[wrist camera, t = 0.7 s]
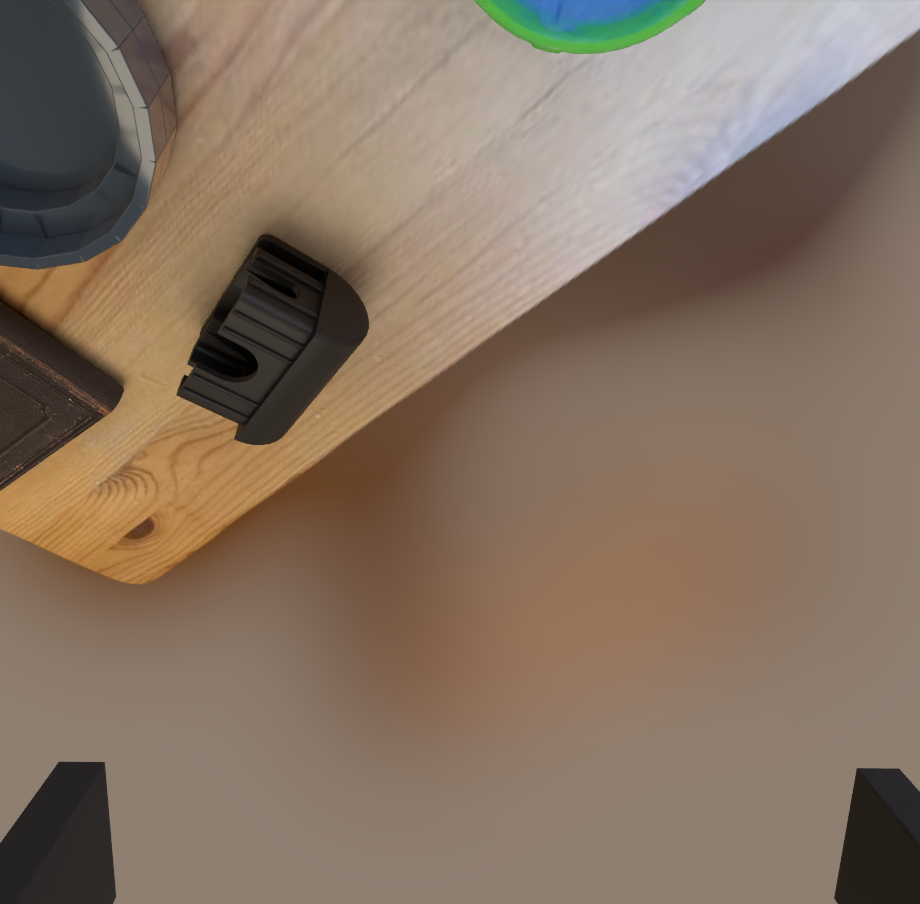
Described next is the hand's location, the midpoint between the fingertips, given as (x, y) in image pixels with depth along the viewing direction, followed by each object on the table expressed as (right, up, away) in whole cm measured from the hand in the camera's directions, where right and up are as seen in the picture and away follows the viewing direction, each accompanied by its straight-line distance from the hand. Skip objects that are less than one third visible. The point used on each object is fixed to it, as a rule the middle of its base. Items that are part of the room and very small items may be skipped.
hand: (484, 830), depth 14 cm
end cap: (-11, +15, +36) cm, 40 cm away
